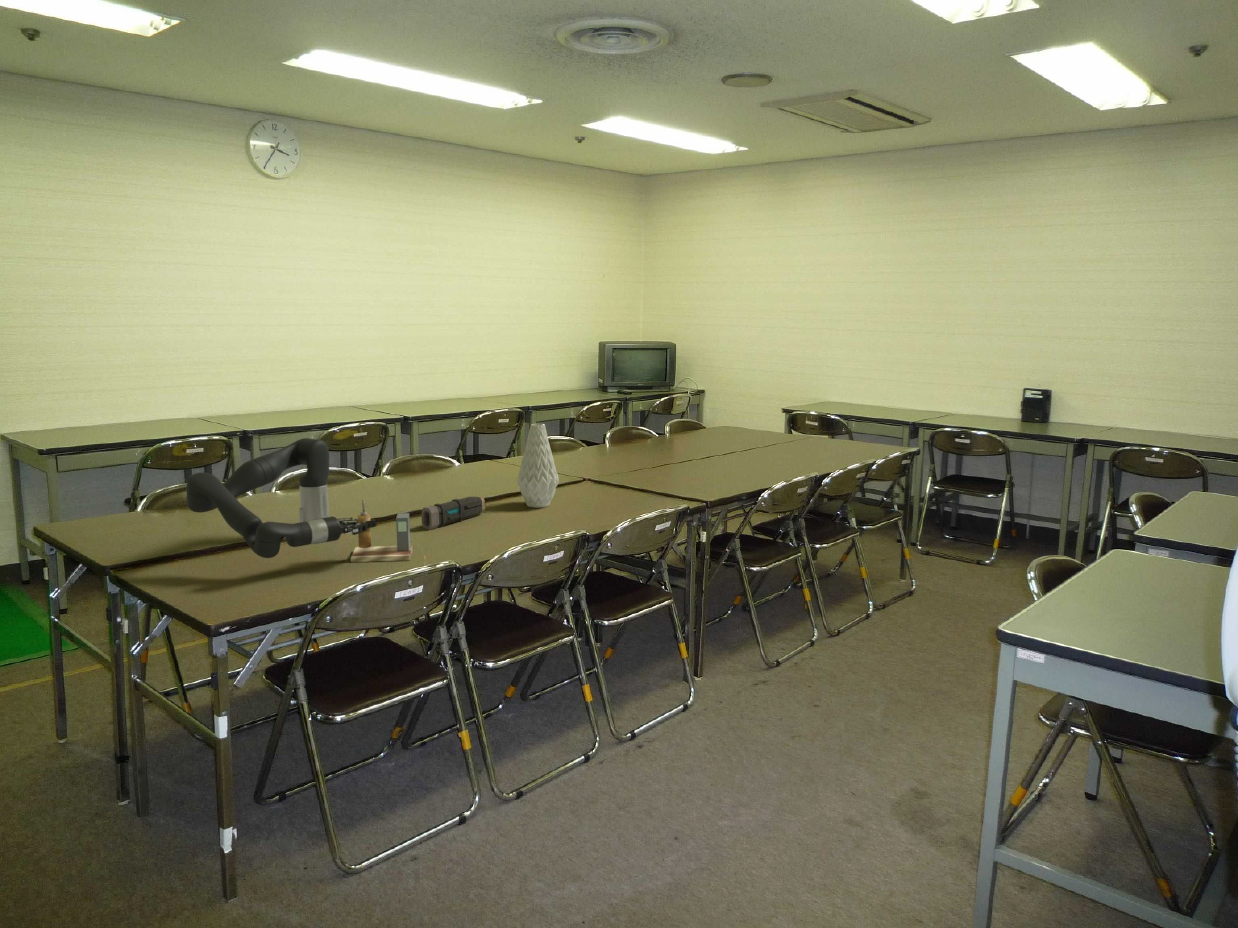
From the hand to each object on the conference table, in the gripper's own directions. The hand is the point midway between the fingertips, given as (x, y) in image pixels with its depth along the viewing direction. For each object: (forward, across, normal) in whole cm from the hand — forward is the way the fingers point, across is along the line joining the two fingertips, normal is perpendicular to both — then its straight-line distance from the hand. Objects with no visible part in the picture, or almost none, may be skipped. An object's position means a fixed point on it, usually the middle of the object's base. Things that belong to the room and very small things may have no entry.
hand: (372, 521), depth 283 cm
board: (+3, -1, +11) cm, 12 cm away
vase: (+85, +20, +11) cm, 88 cm away
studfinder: (+9, -3, +10) cm, 14 cm away
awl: (-3, 0, +8) cm, 8 cm away
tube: (+46, +21, +12) cm, 51 cm away
